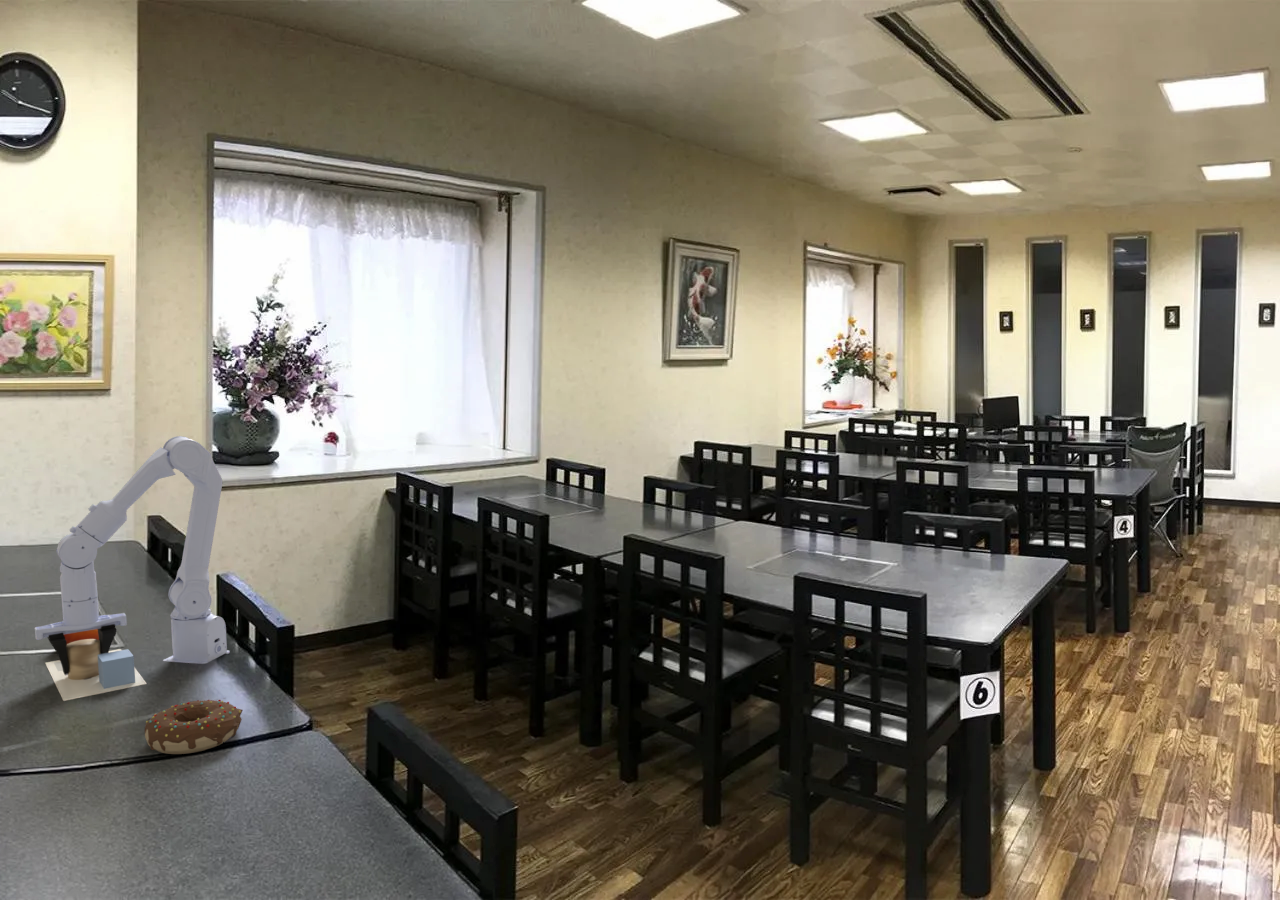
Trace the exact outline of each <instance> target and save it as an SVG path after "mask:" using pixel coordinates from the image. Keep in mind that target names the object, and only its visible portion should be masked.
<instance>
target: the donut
mask: <svg viewBox="0 0 1280 900" xmlns="http://www.w3.org/2000/svg"><path fill="white" fill-rule="evenodd" d="M242 712H243V709H240V708H238V707H237V706H234V705H233V704H231V703H230V701H227V702H225V701H224V700H221V699H218V700H215V699H214V700H213V699H206V700H199V699H198V700H192V701H187V702H185V703H182V702H181V703H180V704H174V705H171V706H170V707H169V708H166V709H163V710H161V711H159V712H157V713H154V715H152V717H151V718H150V719H149V720H146V721H145V727H144V738H145V741H146V743H147V745H148V746H149V747H150V750H151V751H156V752H159V753H162V754H166V755H167V754H169V755H182V754H183V755H184V754H192V753H199V752H202V751H206V750H209V749H212V748H215V747H217V746H220V745H223V742H224V743H225V742H227V741H228V740H229V739H231V738H234V736H236V735H237V731H238V730H239V728H240V725H241V723H242V717H241V715H242Z"/></svg>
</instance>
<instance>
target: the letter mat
mask: <svg viewBox="0 0 1280 900" xmlns="http://www.w3.org/2000/svg"><path fill="white" fill-rule="evenodd" d="M120 650H122V649H121V648H118V649H113V650H109V652H108V653H110V652H115V651H120ZM44 664H45V666H46V668H47V669H48V671H49V674H50V675H51V677H52V680H53V682H54V684H55V686H56V689H57V690H58V692H59V695H60V696H61V699H62V701H63V702H65V701H70V700H75V699H79V698H85V697H90V696H94V695H100V694H104V693H108V692H115V691H119V690H123V689H129V688H132V687H133V688H134V687H139V686H144V685H147V682H146V680H145V679H144V678H143V676H142V675H141V674H140V672H139V671H138V670H137V668H136V667H135V666H134V669H135V683H130V684H125V685H120V686H115V687H111V688H106V689H104V688H103V686H102V685H101V683H100V681H99V675H98V676H95V677H92V678H88V679H81V680H73V679H69V678H68V674H64V672H63V668H62V664H61V661H60V659H58V660H52V661H48V662H44Z"/></svg>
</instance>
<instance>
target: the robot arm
mask: <svg viewBox="0 0 1280 900" xmlns="http://www.w3.org/2000/svg"><path fill="white" fill-rule="evenodd" d="M211 454H212V453H211V452H210V451H209V450H208V449H207V448H205V447H204V446H203V445H202V444H201V443H200V442H198V441H196V440H194V439H191V438H189V437H186V436H182V435H179V436H178V435H177V436H173V437H171V438H168V440H167V441H166V442H165V443H164V444H163V447H159V448H157V450H155V451H154V452H153V453H152V455H150V456H149V457H148V458H147V460H145V462H143V464H141V466H140V467H139V468H138V470H137V471H136V472H135V473H134V474H132V476H131V477H130V479H129V480H128V481H127V482H126V483H125V484H124V485H123V486H122V488H121V489H120V490H119V491H118V492H117V493H116V494H115V496H113V498H112V499H108V500H100V501H99V502H98V503H97V504H94V503H92V504H91V505H90V506H89V507H88V511H89V513H88V514H86V516H85V517H83V518H82V520H81V521H80V522H79V523H77V525H76V526H74V525H72V526H71V527H70V528H69V532H70V533H69V534H66V535H65V536H63V537H62V538H61V539H60V540H59V542H58V544H57V548H56V549H55V550H56V551H55V552H56V554H57V556H58V558H59V559H60V565H59V572H60V573H61V574H60V575H59V583H60V594H61V596H60V598H61V605H62V606H61V609H62V610H61V611H62V620H61V621H59V622H54V623H49V624H45V625H41V626H36V627H34V638H35V639H36V641H38V640H43V639H46V638H47V639H48V641H49V643H50V645H51V646H52V647H53V649H54V651H55V652H56V654H57V656H58V658H59V659H58V660H60V661H61V664H62V668H63V672H64V674H69V667H68V661H67V641H66V640H65V636H64V634H70V633H76V632H82V631H88V630H94V629H98V636H99V641H100V653H101V654H104V653H108V652H109V651H110V649H111V646H112V642H113V641H114V639H115V637H116V634H117V628H116V627H117V626H120V627H121V626H128V624H127V623H128V622H127V615H126V613H125V612H122V613H116V614H103V615H102V614H101V615H100V614H99V613H100V611H99V598H98V584H97V583H98V582H97V572H96V571H95V564H94V563H95V560H96V558H97V555H98V549H99V548H101V547H103V546H104V545H105V544H106V543H107V542H108V541H109V540H110V539H111V537H112V536H113V535H114V534H115V533H116V532H118V530H119V529H120V528H121V527H122V526H123V525H124V524H126V522H127V520H128V515H127V512H128V509H129V508H131V506H132V505H134V504H135V503H136V501H138V499H140V498H141V497H142V496H143V495H144V494H145V493H146V492H147V491H148V490H149V489H150V488H151V487H152V486H153V485H155V483H156V482H157V481H159V480H160V479H161V480H162V479H165V478H169V477H173V476H176V474H177V473H176V472H175V471H174V470H175V469H176V470H177V471H179V472H180V473H181V474H183V475H184V477H185V478H186V479H187V480H188V481H189V482H190V483H191V484H192V486H193V491H192V498H191V502H190V503H191V504H190V509H189V514H188V515H189V516H188V520H187V528H186V534H185V535H186V536H185V539H184V544H183V545H184V546H183V551H182V558H181V559H182V560H181V563H180V566H179V568H178V570H177V571H176V577H175V579H174V581H173V582H172V583H171V586H170V587H169V589H168V598H169V601H170V602H171V604H172V605H174V608H173V610H172V611H171V613H170V628H171V645H172V646H171V647H172V655H171V656H168V657H167V658H163V660H162V662H170V663H171V662H172V663H184V664H185V663H186V664H188V663H189V664H199V665H200V664H204V665H205V664H208V663H210V662H212V661H214V660H216V659H218V658H219V657H221V656H223V655H225V654H227V655H228V654H230V650H228V647H227V646H228V645H227V644H228V642H227V627H226V626H227V625H226V622H225V620H224V618H223V617H221V616H219V615H215V614H213V613H212V610H211V605H212V602H213V601H212V595H211V593H210V573H209V567H210V559H211V555H212V554H211V553H212V547H213V543H214V535H215V530H216V525H217V524H216V523H217V517H218V511H219V505H220V500H221V499H220V498H221V495H222V487H223V479H222V478H223V477H222V476H221V474H220V472H219V469H218V468H217V466H216V464H215V462H214V460H213V458H212V457H213V456H212V455H211Z"/></svg>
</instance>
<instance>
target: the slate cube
mask: <svg viewBox="0 0 1280 900" xmlns="http://www.w3.org/2000/svg"><path fill="white" fill-rule="evenodd" d="M134 667H135V656H134V655H133V653H132V652H131V651H130V650H129V649H128V648H126V649H121V650H120V651H115V652H110V653H104V654H99V655H98V669H99V681H100V683H101V685H102V686H103V688H104V689H106V688H111V687H115V686H120V685H125V684H130V683H135V669H136V668H135V669H134Z"/></svg>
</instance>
